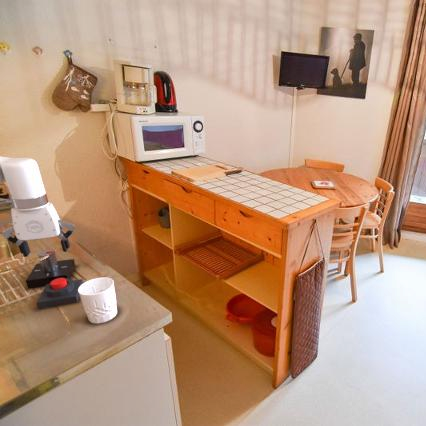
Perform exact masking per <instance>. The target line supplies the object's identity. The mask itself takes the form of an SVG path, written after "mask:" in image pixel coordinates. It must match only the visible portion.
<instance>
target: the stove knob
mask: <svg viewBox="0 0 426 426" xmlns="http://www.w3.org/2000/svg"><path fill="white" fill-rule="evenodd" d="M47 255H49V257H48V258H46V259H44V260H42V261H40V260H39V263H40V264H41V267H42V270H43V272H53V271H55V270H57V269H58V268H59V266H58V262H57V261H58V259H57V256H56V252H55V250H54V249H44V250H41V251H39V252H38V253H37V256H38V259H39V258H41V257H44V256H47Z"/></svg>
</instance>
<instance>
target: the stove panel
mask: <svg viewBox="0 0 426 426" xmlns="http://www.w3.org/2000/svg"><path fill="white" fill-rule="evenodd" d="M57 262H58V266H59V268H58V269H57V270H55V271H53V272H43V270H42V267H41V264H40V262H38V263H36V264H35V265H34V267H33V268H32V269H31V271H30V273H29V274H28V276H27V277H26V279H25V284H26V287H27V289H30V290H31V289H36V288H45V286H46V284H49V283H51V281H53V280H55V279H57V278H66V279H71V278H72V277H73V274H74V271H75V269H76V262H75V259H74V258H70V259H61V260H57Z"/></svg>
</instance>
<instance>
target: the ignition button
mask: <svg viewBox="0 0 426 426" xmlns="http://www.w3.org/2000/svg"><path fill="white" fill-rule="evenodd" d="M50 284H51V287H52V289H54V290H56V289H61V288H63V287H65V286H67V281H66V279H65V278H57V279H55V280H53V281H51V283H50Z"/></svg>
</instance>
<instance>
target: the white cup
mask: <svg viewBox="0 0 426 426" xmlns="http://www.w3.org/2000/svg"><path fill="white" fill-rule="evenodd" d="M78 292H79V295H80V297H79V299H80V301H81V305H82V307H83V310H84V312H85V314H86V316H87V319H88V321H89V322H90V323H91V324H95V325H96V324H103V323H106V322H108V321H109V322H110V321H111V320H112V319H113V318H115V317H116V316H117V315H118V307H117V304H118V303H117V296H116V295H117V294H116V289H115V281H114V279H112V278H111V277H105V276H103V277H102V276H101V277H96V278H92V279H89V280H87V281H85V282H83V284H82V285H81V286H80V287H79V288H78Z"/></svg>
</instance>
